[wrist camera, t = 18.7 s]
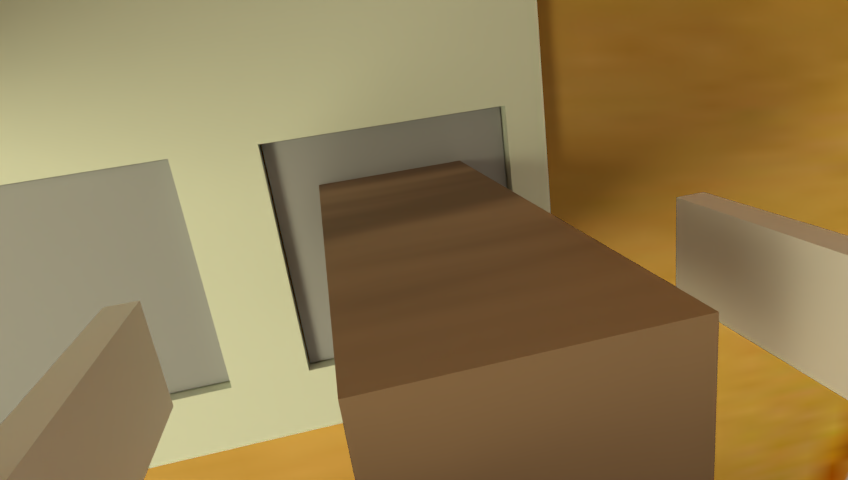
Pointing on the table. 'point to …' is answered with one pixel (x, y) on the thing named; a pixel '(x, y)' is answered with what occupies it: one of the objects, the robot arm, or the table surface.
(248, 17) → the puzzle board
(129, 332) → the robot arm
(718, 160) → the table surface
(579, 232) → the walnut block
